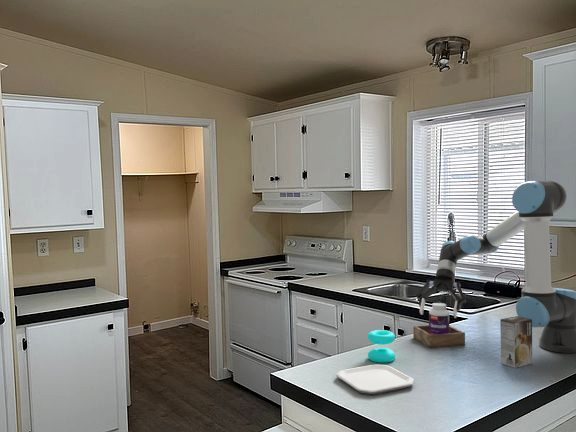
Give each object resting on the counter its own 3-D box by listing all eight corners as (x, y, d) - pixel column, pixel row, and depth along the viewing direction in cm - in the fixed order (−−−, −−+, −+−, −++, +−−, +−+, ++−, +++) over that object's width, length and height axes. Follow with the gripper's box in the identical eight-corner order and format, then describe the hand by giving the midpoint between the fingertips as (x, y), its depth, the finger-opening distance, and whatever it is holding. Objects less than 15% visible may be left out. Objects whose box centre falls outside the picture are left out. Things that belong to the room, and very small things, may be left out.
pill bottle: (427, 340, 212) (427, 305, 211) (430, 335, 219) (429, 301, 219) (448, 342, 209) (448, 306, 208) (450, 337, 216) (450, 302, 216)
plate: (364, 400, 157) (364, 392, 157) (331, 377, 176) (331, 371, 176) (420, 388, 165) (420, 381, 165) (383, 368, 184) (383, 362, 184)
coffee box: (517, 359, 191) (517, 315, 190) (532, 364, 185) (533, 319, 184) (499, 363, 186) (499, 318, 186) (515, 368, 181) (515, 322, 180)
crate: (465, 345, 208) (465, 332, 208) (430, 348, 205) (430, 335, 205) (446, 335, 223) (446, 323, 223) (413, 337, 220) (413, 326, 220)
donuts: (399, 335, 189) (373, 337, 187) (399, 362, 189) (373, 364, 187) (388, 328, 198) (363, 330, 196) (389, 354, 199) (364, 356, 197)
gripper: (476, 279, 222) (470, 322, 210) (418, 276, 235) (409, 316, 222) (474, 269, 218) (467, 312, 205) (415, 266, 230) (405, 306, 218)
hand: (437, 314), depth 214 cm, fingers open, 13 cm apart
